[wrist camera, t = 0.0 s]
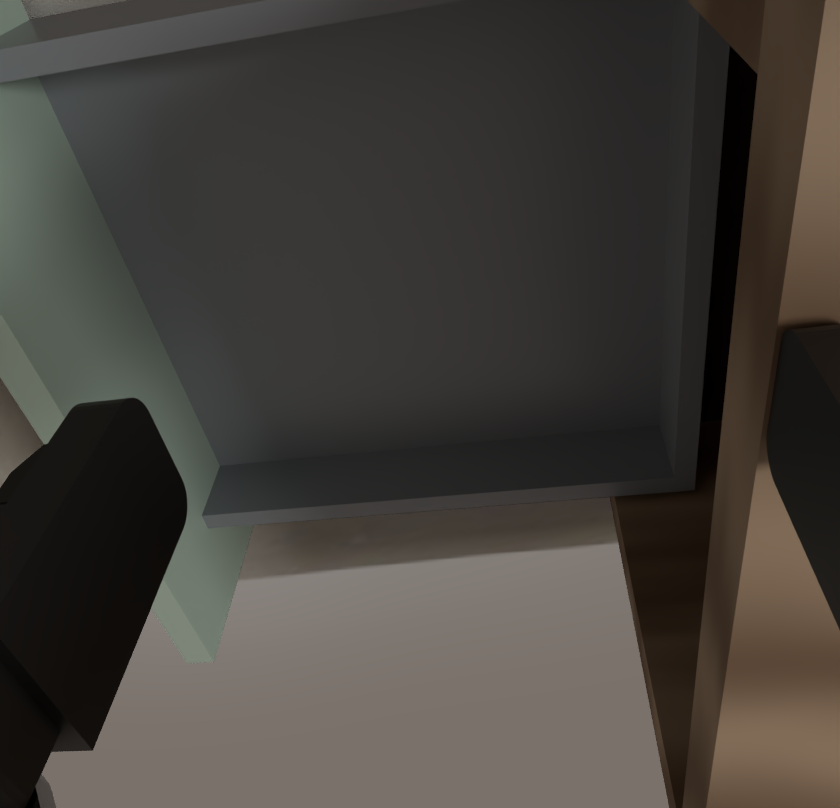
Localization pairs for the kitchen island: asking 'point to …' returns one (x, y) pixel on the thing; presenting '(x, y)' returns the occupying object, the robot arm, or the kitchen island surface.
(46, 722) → the robot arm
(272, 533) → the kitchen island surface
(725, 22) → the cabinet
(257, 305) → the drawer
